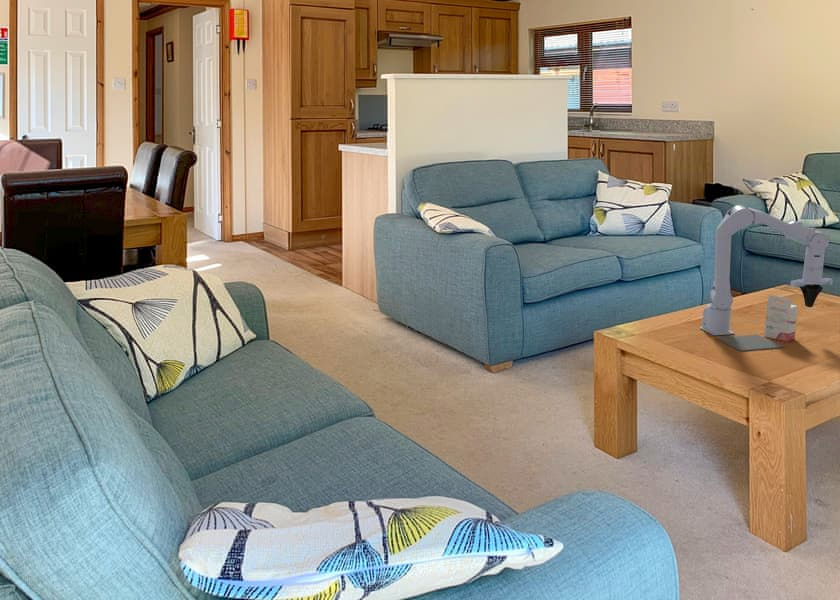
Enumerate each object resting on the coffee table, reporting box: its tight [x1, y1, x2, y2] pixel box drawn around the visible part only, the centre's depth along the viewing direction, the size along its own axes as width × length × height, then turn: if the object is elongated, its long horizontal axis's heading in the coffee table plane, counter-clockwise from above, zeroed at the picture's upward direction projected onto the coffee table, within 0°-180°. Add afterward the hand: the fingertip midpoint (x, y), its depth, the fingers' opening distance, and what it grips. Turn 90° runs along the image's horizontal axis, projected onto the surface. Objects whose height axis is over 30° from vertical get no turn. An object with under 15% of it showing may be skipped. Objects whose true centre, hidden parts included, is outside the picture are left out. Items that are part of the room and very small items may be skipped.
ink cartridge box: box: [763, 294, 799, 342], centre depth 259 cm, size 9×5×15 cm, turn 37°
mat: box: [716, 334, 785, 352], centre depth 255 cm, size 14×16×1 cm
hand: (808, 306), depth 260 cm, fingers closed
